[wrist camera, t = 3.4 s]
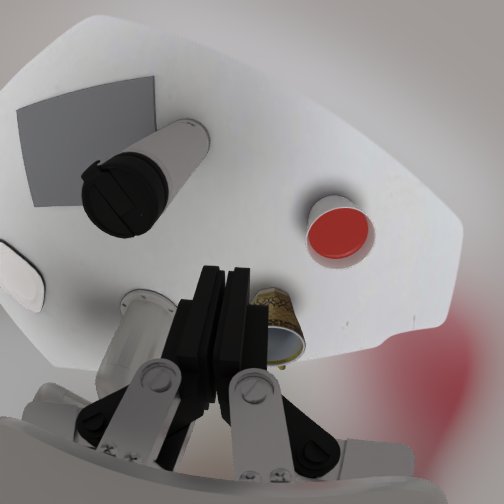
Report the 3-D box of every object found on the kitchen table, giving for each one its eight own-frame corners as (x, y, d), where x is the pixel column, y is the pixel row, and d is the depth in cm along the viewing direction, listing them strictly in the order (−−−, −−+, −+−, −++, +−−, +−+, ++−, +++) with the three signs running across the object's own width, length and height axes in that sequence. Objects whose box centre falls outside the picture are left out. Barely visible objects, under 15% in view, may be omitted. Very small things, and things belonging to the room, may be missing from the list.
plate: (43, 315, 58) (40, 319, 57) (-5, 277, 53) (-8, 281, 52) (50, 273, 50) (46, 278, 49) (-4, 229, 45) (-9, 233, 43)
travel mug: (192, 107, 32) (115, 141, 16) (219, 149, 35) (172, 223, 19) (154, 132, 34) (62, 191, 17) (180, 172, 37) (112, 258, 21)
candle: (336, 253, 43) (344, 280, 38) (288, 224, 41) (291, 249, 36) (374, 209, 38) (389, 231, 33) (326, 174, 36) (336, 192, 31)
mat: (162, 203, 40) (161, 204, 39) (36, 205, 41) (34, 207, 40) (154, 76, 30) (152, 76, 29) (18, 109, 31) (16, 110, 30)
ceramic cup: (234, 286, 48) (226, 332, 39) (294, 273, 45) (298, 320, 37) (257, 336, 54) (255, 379, 46) (309, 326, 52) (313, 370, 44)
